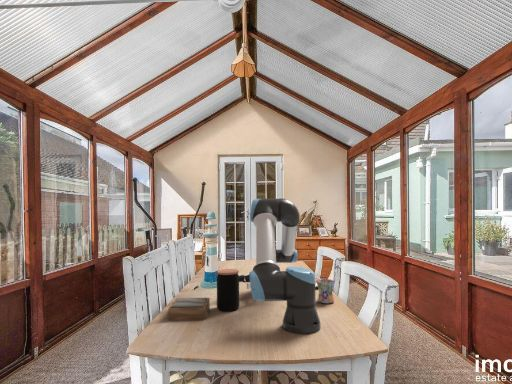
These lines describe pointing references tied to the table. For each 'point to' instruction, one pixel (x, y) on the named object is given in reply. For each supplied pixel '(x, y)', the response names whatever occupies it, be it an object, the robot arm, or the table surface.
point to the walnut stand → (189, 309)
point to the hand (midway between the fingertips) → (235, 284)
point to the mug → (325, 290)
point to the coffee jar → (227, 290)
